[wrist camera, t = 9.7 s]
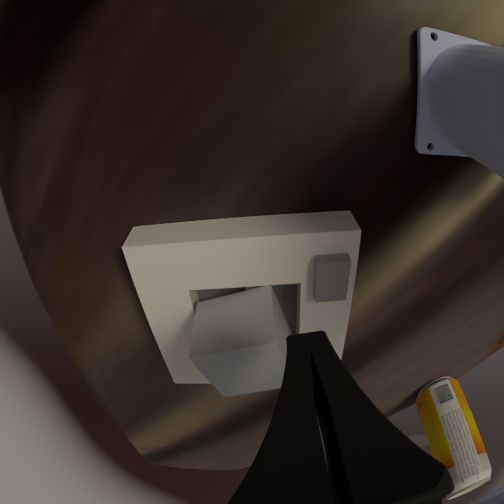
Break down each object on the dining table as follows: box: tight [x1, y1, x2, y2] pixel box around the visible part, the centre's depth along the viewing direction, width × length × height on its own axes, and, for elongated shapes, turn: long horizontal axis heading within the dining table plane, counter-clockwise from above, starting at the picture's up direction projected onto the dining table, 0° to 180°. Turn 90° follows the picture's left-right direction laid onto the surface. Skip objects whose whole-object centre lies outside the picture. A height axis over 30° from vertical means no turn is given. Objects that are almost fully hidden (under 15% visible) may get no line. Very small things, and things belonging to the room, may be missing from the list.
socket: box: [122, 211, 361, 384], centre depth 23 cm, size 14×14×3 cm
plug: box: [189, 284, 292, 397], centre depth 21 cm, size 5×5×6 cm
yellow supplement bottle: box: [416, 376, 491, 499], centre depth 27 cm, size 6×6×15 cm
